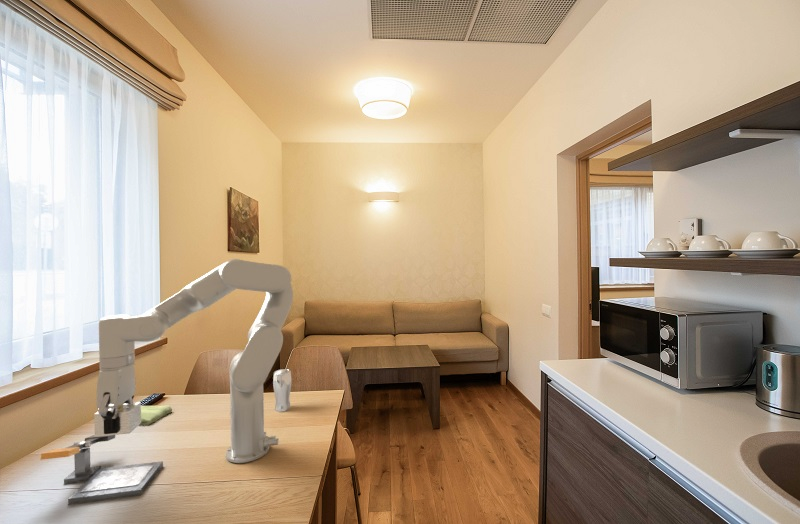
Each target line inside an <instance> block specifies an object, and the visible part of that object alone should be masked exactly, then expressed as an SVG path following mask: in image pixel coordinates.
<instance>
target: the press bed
mask: <svg viewBox="0 0 800 524" xmlns="http://www.w3.org/2000/svg"><path fill="white" fill-rule="evenodd" d="M73 458H74V470H73V471H72V472H70V473H69V474H68V475H67V476H65V478H64V479H63V485H65V484H71V483H72V484H73V483H81V482H84V483H83V484H82V485H80V487H79V488H77V490H76V491H74V492H73V494H71V495H70V497H68V498H67V504H68V505H76V504H83V503H84V504H85V503H86V504H87V503H93V502H99V501H109V500H115V499H116V500H117V499H122V498H131V497H137V496H138V497H139V496H141V495H142V494H143V493H144V492H145V490H146V489H147V488H148V486H149V485H150V484H151V483H152V481H154V479H155V477H157V475H158V473H159V472H160V471H161V470H160V469H163V467H164V461H162V460H161V461H156V462H155V461H154V462H147V463H144V462H143V463H136V464H127V465H119V466H109V467H101V465H97V466H91V448H90V447H88V448H81V449H79V453H76V454H74V457H73Z"/></svg>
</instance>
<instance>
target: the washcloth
mask: <svg viewBox="0 0 800 524" xmlns="http://www.w3.org/2000/svg"><path fill="white" fill-rule="evenodd" d="M172 411H173V408H172V407H171V406H170V405H168V404H166V405H141V424H140V425H139V426H149V425H151V424H153V423H154V422H157V421H159V419H160V418H164V417H165V416H167V415H168V414H171V413H172Z"/></svg>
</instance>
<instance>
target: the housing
mask: <svg viewBox="0 0 800 524" xmlns="http://www.w3.org/2000/svg"><path fill="white" fill-rule="evenodd" d="M141 404H142V403H141V401H137V402H135V401H134V402H133V403H123V404H121V405H120V406H119V407H118V412H117V417H119V432H118V433H113V434H104V420H102V416H101V415H100V414H99V413H98V411H97V412H95V413H94V414H93V415H94V417H93V418H94V419H93V421H94V423H93V424H94V435H95V437H98V436H109V435H115V436H117V435H118V436H119V435H128V434H131V433H132V432H133V431H134V430H135V429H136V428H138V427H139V426H141V425H140V424H141V406H142V405H141ZM113 405H114V404H109V406H113ZM108 411H111V412H112V413H113V409H109V410H108Z"/></svg>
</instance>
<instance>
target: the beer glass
mask: <svg viewBox="0 0 800 524" xmlns="http://www.w3.org/2000/svg"><path fill="white" fill-rule="evenodd" d="M272 379H273V381H272V384H273V385H272V386H273V394H274V396H275V397H274V398H275V405H274V410H275V412H278V413H282V412H283V413H285V412H287V411H289V410H291V401H290V399H291V398H290V397H291V396H290V395H291V389H292V371H291V370H290V369H288V368H287V369H286V368H285V369H282V368H281V369H278V370H275V371H274V372H273V377H272Z"/></svg>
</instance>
